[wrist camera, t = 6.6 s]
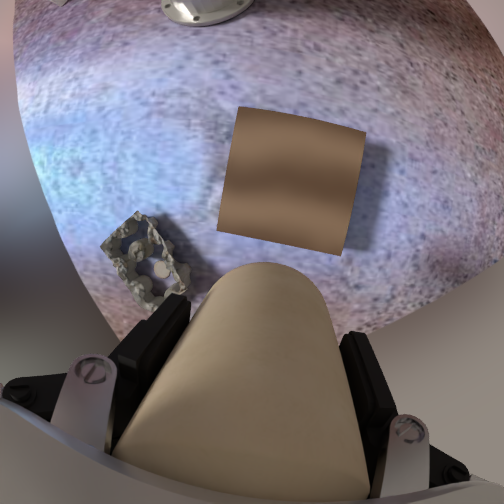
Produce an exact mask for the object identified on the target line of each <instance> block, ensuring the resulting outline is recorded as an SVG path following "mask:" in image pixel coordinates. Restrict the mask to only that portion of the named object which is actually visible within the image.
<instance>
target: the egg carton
mask: <svg viewBox="0 0 504 504" xmlns="http://www.w3.org/2000/svg"><path fill="white" fill-rule="evenodd" d="M143 220H146V221H147V222H148V223H149V226H148V232H147V234H148V238H149V239H148V238H142V239H140V240H137V241H135V242H133V243H132V244H131V245H130V246H129V251H128V253H126V254H123V253H122V251H121V250H120V247H121V244H122V240H121V238H125V237H128V236H130V235H133V234H135V233H136V232H137V230H138V222H137V221H143ZM157 225H158V222H157V220H156V219H155V218H154V217H151V218H147V216H146V215H142V214H140V213H139V211H136V212H135V213H134V214H133V215H132V216H131V217H130V218H129V219H127V220H126V221H125V222H124V223H123V224H122V225H121V226H120V227H118V228H117V229H116V230H115V231H114V232H113V233H112V234H111V235H110V236H109V237H108V238H107V239H106V240H105V241H104V242H103V243H102V245H101V246H100V248H101V249H102V250H103V251H104V253H105V254H106V255H107V257H108V258H109V259H110V260H111V261H112V262H113V266H114V267H116V269H117V274H118V276H119V277H120V278H121V279H122V280H123V282H124V283H125V285H126V286H127V288H128V289H129V290H130V291H131V293H132V295H133V297H134V299H135V301H136V302H137V304H138V305H139V306H140V307H142V308H143V309H146V310H149V311H152V312H155V311H156V309H157V308H158V307H159V306H160V305H161V304H162V303H163V302H164V300H165V299H166V298H167V297H168V296H169V295H170V294H171V293H175V294H179V295H180V294H182V293H183V292H185V291H186V290H188V288H187V287H188V286H189V285H190V283H191V280H190V272H191V268H190V266H189V265H188V264H187V263H184V264H180V263H178V262H177V261H176V260H175V259H174V258H173V249H174V247H175V246H174V245H173V244H172V243H171V242H170V241H169V240H167V241H163V239H162V237H161V236H160V235H159V234H158V232H157V231H156V227H157ZM153 244H158V245H160V244H163V246H164V250H163V253H162V258H163V259H164V261H157V262H156V263H155V265H154V271H155V274H156V275H157V276H158V277H159V278H163V279H165V278H167V277H168V276H169V275H170V272H171V271H172V274H173V277H174V279H175V281H176V282H177V283H174V284H173V285H172V286H171V287H170V288H168V289H167V290H166V291H165V294H164V297H162V296H157V297H155V296H154V295H153V294H152V293H151V290H152V287H153V283H152V280H151V279H150V278H149V277H148V276H146V275H140V276H139V275H138V274H137V273H136V271H135V268H136V265H137V262H141V261H142V260H144V259H146V258H147V257H149V256H151V255H152V253H153V252H154V246H153Z"/></svg>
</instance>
